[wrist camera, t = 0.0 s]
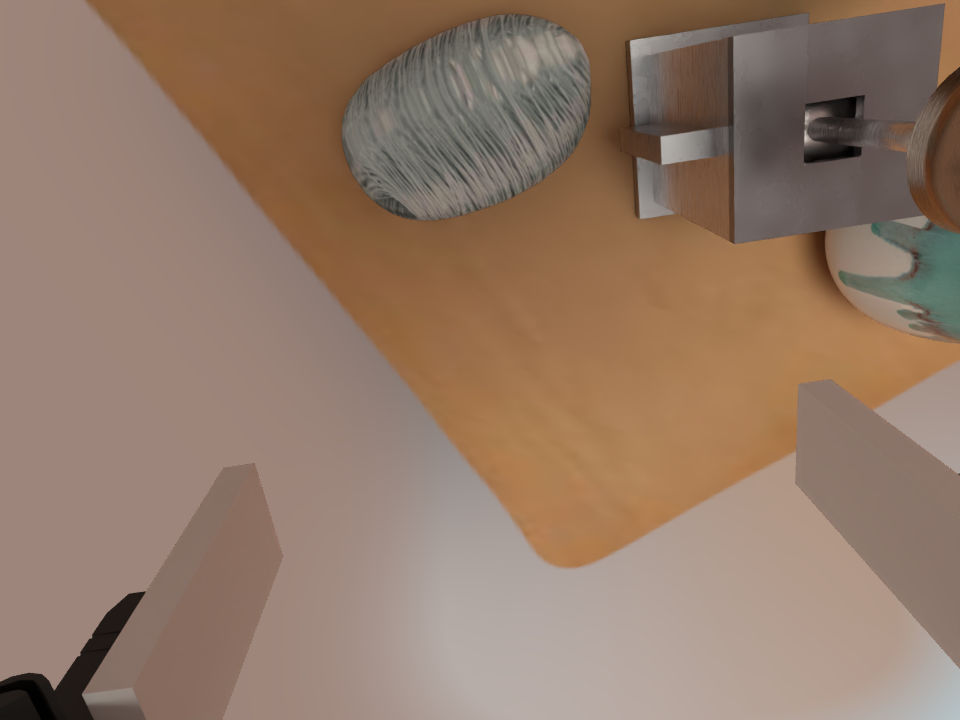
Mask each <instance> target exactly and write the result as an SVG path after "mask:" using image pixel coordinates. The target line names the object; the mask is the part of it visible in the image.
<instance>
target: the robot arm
mask: <svg viewBox="0 0 960 720" xmlns="http://www.w3.org/2000/svg"><path fill="white" fill-rule="evenodd" d="M795 480H796V481H795V483H796V485H797V486H798V487H799V488H800V489H801V490H802V491H803V492H804V494H805V495H806V496H807V497H808V498H809V499H810V500H811V501H812V503H813V504H814V505H815V506H816V507H817V508H818V509H819V510H820V512H821V513H822V514H823V515H824V516H825V517H826V518H827V520H828V521H829V522H830V523H831V524H832V525H833V526H834V527H835V529H836V530H837V531H838V532H839V533H840V534H841V535H842V536H843V538H844V539H845V540H846V541H847V542H848V543H849V544H850V545H851V547H852V548H853V549H855V551H856V552H857V553H858V554H859V555H860V557H861V558H862V559H863V560H864V561H865V562H866V563H867V565H868V566H869V567H870V568H871V569H872V570H873V571H874V573H875V574H876V575H877V576H878V577H879V578H880V579H881V580H882V581H883V582H884V584H885V585H886V586H887V587H888V588H889V589H890V590H891V592H892V593H893V594H894V595H895V596H896V597H897V598H898V600H899V601H900V602H901V603H902V604H903V605H904V606H905V607H906V608H907V610H908V611H909V612H910V613H911V614H912V615H913V616H914V618H915V619H916V620H917V621H918V622H919V623H920V624H921V625H922V627H923V628H924V629H925V630H926V631H927V632H928V633H929V634H930V636H931V637H932V638H933V639H934V640H935V641H936V642H937V644H938V645H939V646H940V647H941V648H942V649H943V650H944V651H945V652H946V654H947V655H948V656H949V657H950V658H951V659H952V660H953V661H954V663H955V664H956V665H957V666H958V667H959V668H960V474H957V473H955V472H954V471H953V470H952V469H950V468H949V467H948V466H946V465H945V464H944V463H942V462H941V461H940V460H938V459H937V458H936V457H934V456H933V455H932V454H930V453H929V452H928V451H926V450H925V449H924V448H922V447H921V446H920V445H918V444H917V443H915V442H914V441H913V440H912V439H910V438H909V437H908V436H906V435H905V434H903V433H902V432H901V431H899V430H898V429H897V428H895V427H894V426H893V425H891V424H890V423H889V422H887V421H886V420H885V419H883V418H882V417H881V416H879V415H878V414H876V413H875V412H874V411H873V410H871V409H870V408H869V407H867V406H866V405H865V404H863V403H862V402H861V401H859V400H858V399H857V398H855V397H854V396H853V395H851V394H850V393H848V392H847V391H846V390H844V389H843V388H842V387H840V386H839V385H838V384H836V383H835V382H834V381H832V380H831V379H829V380H822V381H815V382H809V383H802V384H798V415H797V447H796V479H795ZM282 558H283V554H282V551H281V548H280V545H279V541H278V538H277V535H276V532H275V528H274V525H273V522H272V518H271V515H270V512H269V509H268V505H267V502H266V499H265V496H264V492H263V489H262V486H261V482H260V479H259V476H258V472H257V469H256V466H255V463H252V464H246V465H239V466H232V467H225V468H223V469H222V471H221V472H220V474H219V476H218V477H217V479H216V480H215V482H214V484H213V485H212V487H211V489H210V490H209V492H208V493H207V495H206V497H205V498H204V500H203V501H202V503H201V504H200V506H199V508H198V509H197V511H196V512H195V514H194V516H193V517H192V519H191V521H190V522H189V524H188V526H187V527H186V528H185V530H184V532H183V533H182V535H181V536H180V538H179V540H178V541H177V543H176V544H175V546H174V548H173V549H172V551H171V553H170V554H169V556H168V558H167V559H166V561H165V562H164V564H163V565H162V567H161V569H160V570H159V572H158V574H157V575H156V577H155V578H154V580H153V581H152V583H151V585H150V586H149V588H148V589H147V591H145V592H138V593H131V594H128V595H127V596H126V597H125V598H124V599H122V600H121V601H120V602H119V603H118V604H117V605H116V606H115V607H113V608H112V609H111V610H110V611H109V612H108V613H107V614H106V615H105V617H104V618H103V620H102V621H101V622H100V624H99V625H98V627H97V628H96V630H95V631H94V633H93V634H92V639H89V640H88V642H87V643H86V645H85V646H84V648H83V649H82V651H81V652H80V653H81V655H80V656H78V657H77V658H76V659H75V661H74V662H73V664H72V665H71V667H70V669H69V670H68V671H67V673H66V674H65V676H64V677H63V679H62V680H61V682H60V683H59V685H58V686H57V688H56V689H55V691H54V690H53V688H52V686H51V684H50V682H49V680H48V679H47V678H46V677H44V676H43V675H42V674H35V673H26V674H21V675H17V676H12V677H10V678H8V679H5V680H3V681H1V682H0V720H222V719H223V716H224V713H225V711H226V708H227V705H228V703H229V700H230V697H231V695H232V692H233V690H234V687H235V684H236V681H237V679H238V676H239V673H240V671H241V668H242V665H243V663H244V660H245V657H246V655H247V652H248V649H249V647H250V644H251V641H252V638H253V636H254V633H255V630H256V628H257V625H258V623H259V620H260V617H261V614H262V612H263V609H264V606H265V604H266V601H267V598H268V596H269V593H270V590H271V588H272V585H273V582H274V580H275V577H276V574H277V572H278V569H279V566H280V564H281V561H282Z"/></svg>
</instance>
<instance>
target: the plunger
mask: <svg viewBox="0 0 960 720" xmlns="http://www.w3.org/2000/svg"><path fill="white" fill-rule="evenodd" d="M856 100H857V96H854V97H847V98H841V99H834V100H828V101H821V102H815V103H808V104H806V105H805V138H804V163H805V162H811V161H818V160H824V159H831V158H838V157H844V156H851V155H853V153H854V146H858V147H866V148H875V149H883V150H892V151H900V152H907V156H906V175H907V182H908V186H909V190H910V193H911V195H912V198H913V200H914V202H915V204H916V205H917V207H918V208H919V210H920V211H921V212H922V213H923V215H924V216H925V217H926V218H927V219H928V220H930V221H931V222H932V223H934V224H935V225H937V226H939V227H940V228H942V229H945V230H947V231H950V232H953V233H957V234H960V67H959V68H958V69H957V70H956V71H954V72H953V73H952V74H951V75H949V76H948V77H947V78H946V79H945V80H944V81H943V82H942V83H941V84H940V85H939V87H938V88H937V89H936V90H935V92H934V93H933V94H932V95H931V96H930V98H929V99H928V101H927V102H926V104H925V105H924V107H923V109H922V111H921V112H920V114H919V116H918V118H917V120H916V121H897V120H876V119H856V118H855V117H856Z"/></svg>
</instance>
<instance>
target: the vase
mask: <svg viewBox="0 0 960 720" xmlns="http://www.w3.org/2000/svg"><path fill="white" fill-rule="evenodd" d="M825 254H826V260H827V264H828V268H829V271H830V273H831V275H832V277H833V280H834V282H835V284H836V285H837V287H838V289H839V290H840V292H841V293H842V294H843V295H844V297H845V298H846V299H847V300H848V301H849V302H850V303H851V304H852V305H853V306H854V307H855V308H856V309H858V310H859V311H860V312H861V313H863V314H864V315H865V316H867V317H869V318H870V319H872V320H874V321H876V322H877V323H879V324H881V325H884V326H886V327H888V328H891V329H894V330H896V331H899V332H902V333H905V334H909V335H913V336H916V337H920V338H925V339H930V340H935V341H941V342H948V343H956V344H960V234H957V233H953V232H950V231H947V230H945V229H942V228H940V227H939V226H937V225H935V224H934V223H932V222H931V221H930V220H928V219H927V218H926V217H925V216H918V217H911V218H905V219H898V220H891V221H885V222H878V223H871V224H865V225H858V226H851V227H845V228H838V229H831V230H826V233H825Z"/></svg>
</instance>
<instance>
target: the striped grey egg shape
mask: <svg viewBox="0 0 960 720" xmlns="http://www.w3.org/2000/svg"><path fill="white" fill-rule="evenodd" d="M590 105H591V76H590V65H589V59H588V57H587V55H586V53H585V50H584V48H583V46H582V44H581V43H580V41H579V40H578V39H577V38H576V37H575V36H574V35H572V34H571V33H570V32H568V31H567V30H565V29H564V28H562V27H561V26H559V25H557V24H555V23H553V22H551V21H548V20H546V19H542V18H538V17H534V16H530V15H519V14H503V15H495V16H490V17H486V18H482V19H478V20H474V21H471V22H468V23H465V24H462V25H460V26H457V27H455V28H452V29H449V30H446V31H444V32H442V33H439V34H437V35H435V36H433V37H431V38H429V39H427V40H425V41H423V42H421V43H419V44H417V45H415V46H414V47H412V48H410V49H409V50H407V51H405V52H404V53H402V54H401V55H399V56H397V57H396V58H394V59H392V60H390V61H389V62H388V63H387V64H385V65H384V66H383V67H382V68H380V69H379V70H377V71H376V72H375V73H373V74H372V75H370V76H369V77H368V78H367V79H366V80H365V81H364V82H363V83H362V84H361V86H360V87H359V88H358V90H357V91H356V93H355V94H354V95H353V96H352V98H351V99H350V100H349V102H348V105H347V108H346V111H345V114H344V116H343V119H342V143H343V149H344V153H345V156H346V160H347V162H348V165H349V168H350V170H351V172H352V174H353V176H354V178H355V179H356V180H357V182H358V183H359V185H360V186H361V188H362V189H363V190H364V192H365V193H366V194H367V195H368V196H369V197H370V198H371V199H372V200H373V201H374V202H376V203H377V204H378V205H379V206H381V207H382V208H384V209H385V210H387V211H389V212H390V213H392V214H394V215H397V216H400V217H403V218H407V219H413V220H440V219H446V218H452V217H457V216H462V215H465V214H468V213H472V212H475V211H478V210H481V209H484V208H487V207H490V206H492V205H495V204H498V203H501V202H503V201H505V200H508V199H510V198H512V197H514V196H516V195H518V194H520V193H521V192H523V191H525V190H527V189H529V188H530V187H532V186H534V185H535V184H537V183H539V182H541V181H542V180H544V179H545V178H547V177H548V176H549V175H550V174H551V173H552V172H554V171H555V170H556V169H557V168H559V167H560V166H561V165H562V164H563V163H564V162H565V161H566V160H567V159H568V158H569V156H570V155H571V154H572V153H573V151H574V150H575V148H576V147H577V145H578V143H579V141H580V139H581V137H582V135H583V133H584V130H585V127H586V124H587V121H588V118H589V114H590Z"/></svg>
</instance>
